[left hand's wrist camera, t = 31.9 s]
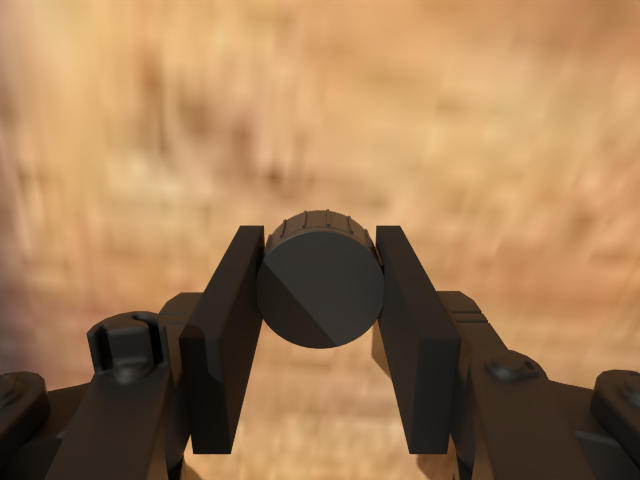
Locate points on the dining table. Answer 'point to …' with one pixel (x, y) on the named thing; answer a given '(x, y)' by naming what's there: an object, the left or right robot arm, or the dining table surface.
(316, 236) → the cap
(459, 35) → the dining table surface
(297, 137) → the dining table surface
